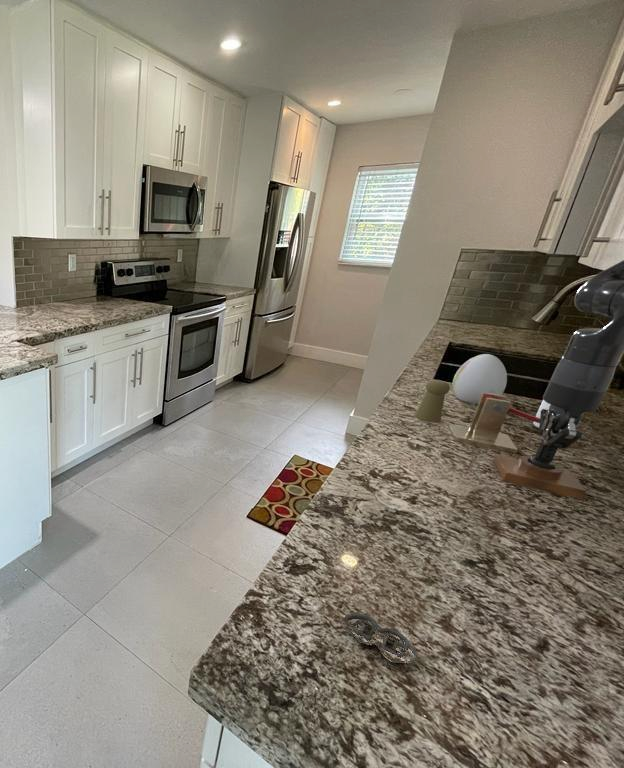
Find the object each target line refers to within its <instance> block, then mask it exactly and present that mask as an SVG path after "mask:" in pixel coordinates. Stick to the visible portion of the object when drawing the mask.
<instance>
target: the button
mask: <svg viewBox="0 0 624 768" xmlns="http://www.w3.org/2000/svg"><path fill="white" fill-rule="evenodd" d="M530 456H531V458H530V460H529V463H531V464H533V465H535V466H538V467H541V468H545V469H553V467H554V465H555V464H556V463H555V462H554V461H553V460H552V462H550V463H547V462H543V461H538V460H537V458H536V457H535V455H530Z"/></svg>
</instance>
